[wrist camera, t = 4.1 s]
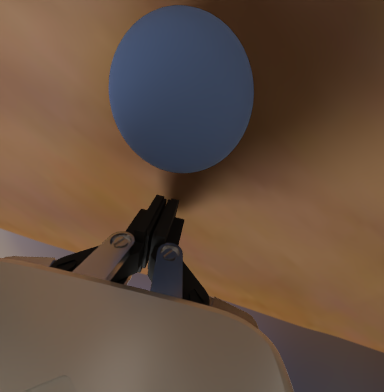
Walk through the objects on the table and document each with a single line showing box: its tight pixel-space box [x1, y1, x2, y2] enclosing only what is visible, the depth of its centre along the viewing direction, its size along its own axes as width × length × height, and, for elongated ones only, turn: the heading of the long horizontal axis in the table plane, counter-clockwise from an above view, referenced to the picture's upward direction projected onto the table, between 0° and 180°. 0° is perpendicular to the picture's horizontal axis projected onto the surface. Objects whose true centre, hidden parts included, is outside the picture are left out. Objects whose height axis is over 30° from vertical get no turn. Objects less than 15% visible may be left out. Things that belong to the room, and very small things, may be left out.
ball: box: [109, 5, 254, 173], centre depth 8 cm, size 6×6×6 cm
